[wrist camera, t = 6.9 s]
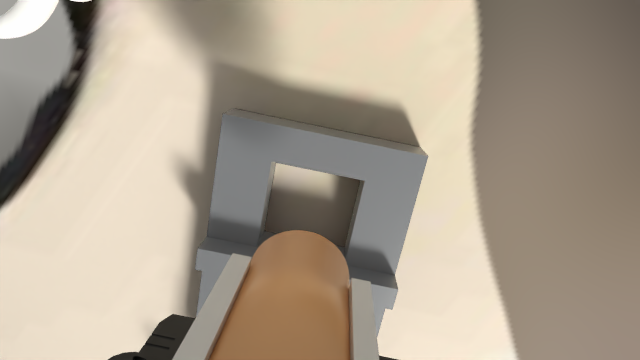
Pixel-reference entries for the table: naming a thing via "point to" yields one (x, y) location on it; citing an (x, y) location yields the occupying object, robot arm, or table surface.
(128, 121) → the table surface
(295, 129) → the housing
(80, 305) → the table surface
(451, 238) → the table surface
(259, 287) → the pin
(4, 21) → the mug
